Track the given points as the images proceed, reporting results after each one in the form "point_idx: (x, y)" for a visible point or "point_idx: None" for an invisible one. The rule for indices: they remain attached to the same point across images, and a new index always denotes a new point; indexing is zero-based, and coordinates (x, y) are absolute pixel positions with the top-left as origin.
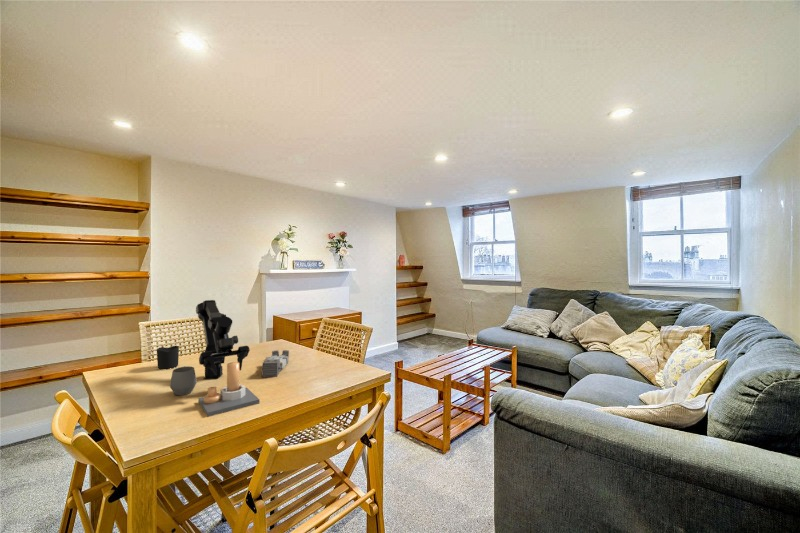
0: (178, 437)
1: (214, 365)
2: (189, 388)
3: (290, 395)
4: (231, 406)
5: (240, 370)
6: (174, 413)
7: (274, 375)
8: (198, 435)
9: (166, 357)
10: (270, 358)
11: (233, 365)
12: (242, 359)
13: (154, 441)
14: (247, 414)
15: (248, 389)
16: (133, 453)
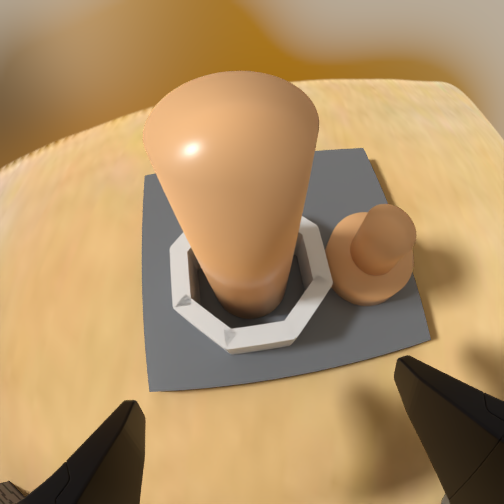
0: (404, 95)
1: (472, 408)
2: None
3: (36, 213)
4: None
5: (138, 414)
6: (478, 253)
7: (13, 491)
8: (359, 81)
9: None
10: None
11: (238, 73)
12: (49, 479)
13: (447, 109)
14: None
15: (147, 348)
16: (459, 93)
